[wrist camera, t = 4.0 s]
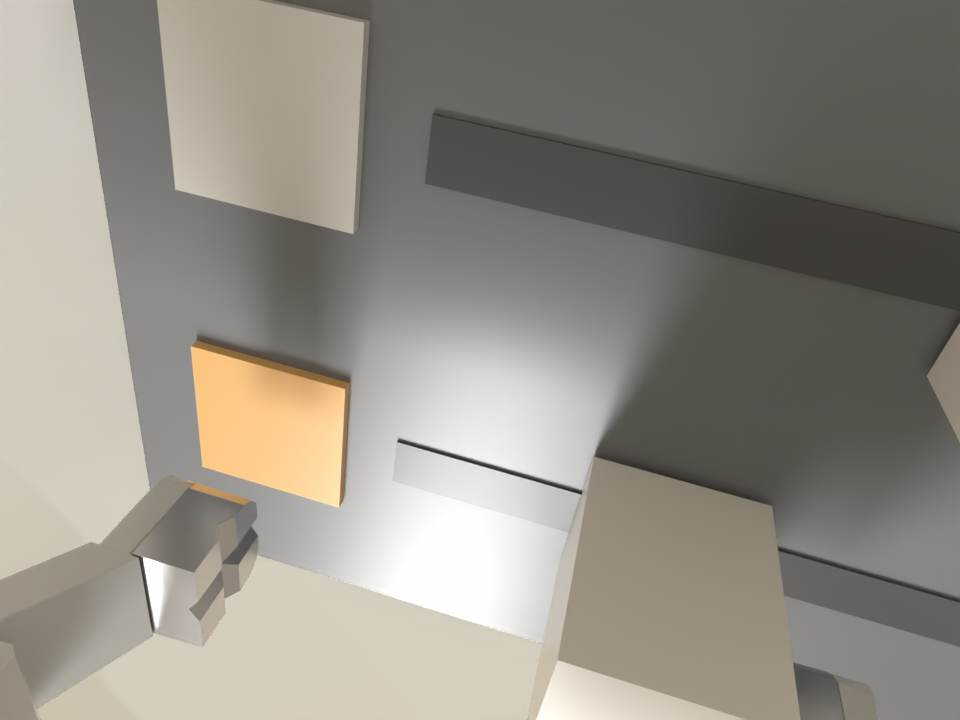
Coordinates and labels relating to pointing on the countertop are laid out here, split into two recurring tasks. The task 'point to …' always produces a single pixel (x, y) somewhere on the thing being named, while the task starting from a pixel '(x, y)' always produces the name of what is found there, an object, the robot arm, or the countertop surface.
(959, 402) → the switch middle
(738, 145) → the switch panel
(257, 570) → the countertop surface
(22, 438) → the countertop surface
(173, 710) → the countertop surface
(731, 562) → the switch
